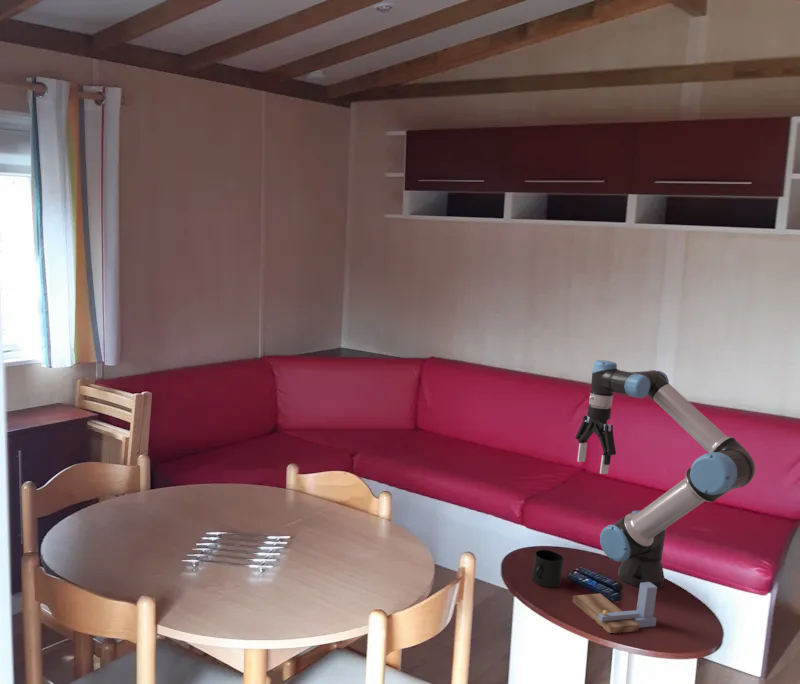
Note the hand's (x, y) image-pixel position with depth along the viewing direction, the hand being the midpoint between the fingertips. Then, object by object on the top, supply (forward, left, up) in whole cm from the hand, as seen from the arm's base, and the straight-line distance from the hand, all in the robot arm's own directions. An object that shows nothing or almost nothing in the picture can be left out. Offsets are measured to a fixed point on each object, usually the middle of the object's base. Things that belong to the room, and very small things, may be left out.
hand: (592, 467), depth 263 cm
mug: (+18, +7, -37) cm, 42 cm away
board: (+11, +31, -37) cm, 49 cm away
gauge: (+8, +37, -37) cm, 53 cm away
